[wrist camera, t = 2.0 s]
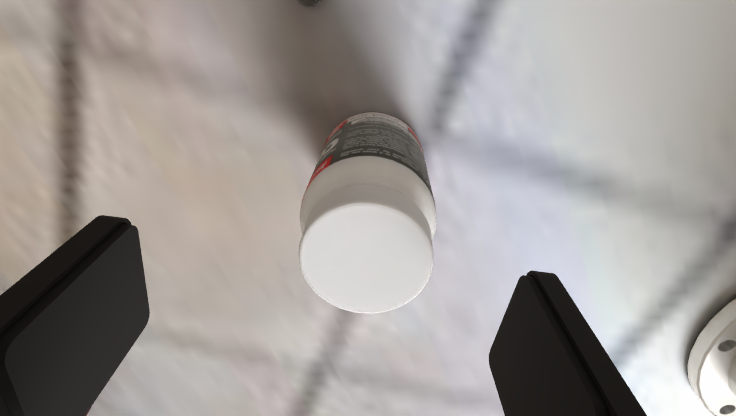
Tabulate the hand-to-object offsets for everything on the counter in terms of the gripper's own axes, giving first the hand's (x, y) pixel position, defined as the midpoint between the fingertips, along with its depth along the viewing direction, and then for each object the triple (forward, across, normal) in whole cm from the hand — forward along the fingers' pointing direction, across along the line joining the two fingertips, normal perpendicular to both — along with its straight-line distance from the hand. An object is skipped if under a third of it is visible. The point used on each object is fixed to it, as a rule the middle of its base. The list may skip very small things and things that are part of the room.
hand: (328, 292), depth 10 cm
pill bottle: (+10, -1, 0) cm, 10 cm away
